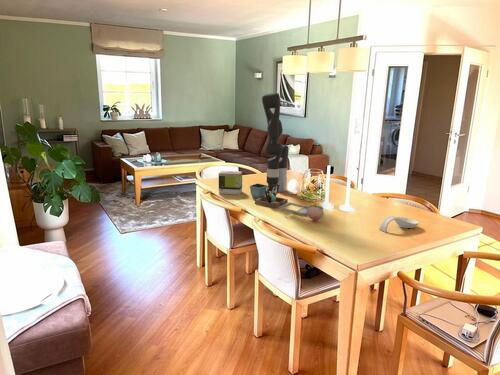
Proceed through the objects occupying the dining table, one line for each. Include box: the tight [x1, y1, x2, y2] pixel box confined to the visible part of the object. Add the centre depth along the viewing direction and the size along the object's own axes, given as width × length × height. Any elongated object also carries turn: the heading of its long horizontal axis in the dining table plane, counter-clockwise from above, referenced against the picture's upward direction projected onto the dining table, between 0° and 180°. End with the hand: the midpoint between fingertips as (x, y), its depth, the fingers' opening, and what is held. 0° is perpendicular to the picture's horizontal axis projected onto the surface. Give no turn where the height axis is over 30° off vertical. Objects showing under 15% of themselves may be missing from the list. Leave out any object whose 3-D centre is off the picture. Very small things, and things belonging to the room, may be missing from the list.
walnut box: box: [254, 195, 289, 209], centre depth 233 cm, size 15×15×3 cm
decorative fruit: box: [306, 203, 324, 222], centre depth 205 cm, size 9×8×10 cm
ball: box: [271, 194, 277, 202], centre depth 232 cm, size 5×5×5 cm
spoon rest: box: [379, 215, 419, 233], centre depth 197 cm, size 24×12×7 cm, turn 118°
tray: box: [277, 201, 309, 217], centre depth 223 cm, size 14×18×2 cm
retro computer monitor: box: [218, 170, 243, 196], centre depth 257 cm, size 15×10×15 cm
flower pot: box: [249, 182, 268, 200], centre depth 245 cm, size 9×9×9 cm
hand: (271, 201), depth 233 cm, fingers closed on ball, 5 cm apart
